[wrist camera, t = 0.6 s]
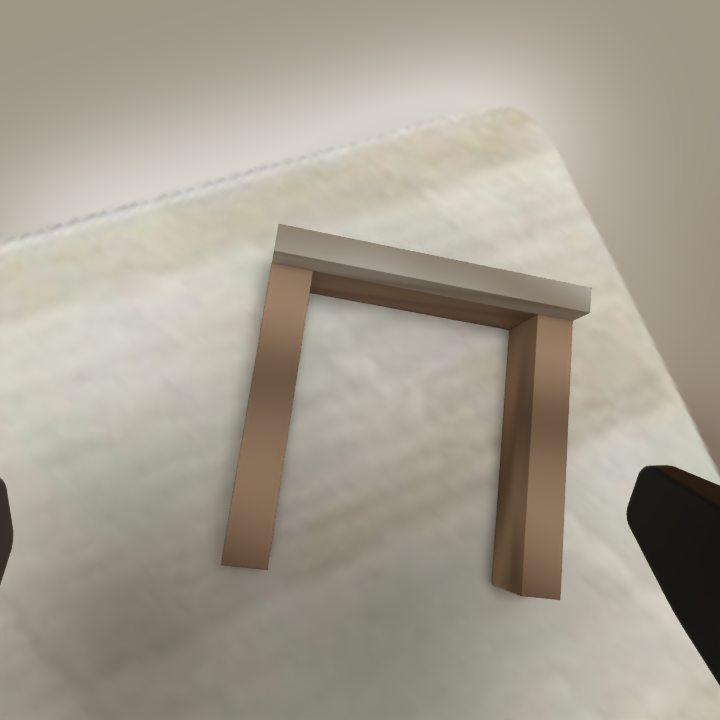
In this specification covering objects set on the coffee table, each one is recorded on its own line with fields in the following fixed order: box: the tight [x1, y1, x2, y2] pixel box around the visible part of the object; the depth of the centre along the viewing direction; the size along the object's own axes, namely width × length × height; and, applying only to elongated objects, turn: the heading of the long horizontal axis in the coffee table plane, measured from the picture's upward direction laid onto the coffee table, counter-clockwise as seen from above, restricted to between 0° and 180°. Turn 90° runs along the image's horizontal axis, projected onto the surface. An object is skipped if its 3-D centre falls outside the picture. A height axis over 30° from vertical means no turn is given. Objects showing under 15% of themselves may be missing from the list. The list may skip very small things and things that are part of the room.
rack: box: [221, 224, 591, 600], centre depth 22 cm, size 12×12×4 cm
